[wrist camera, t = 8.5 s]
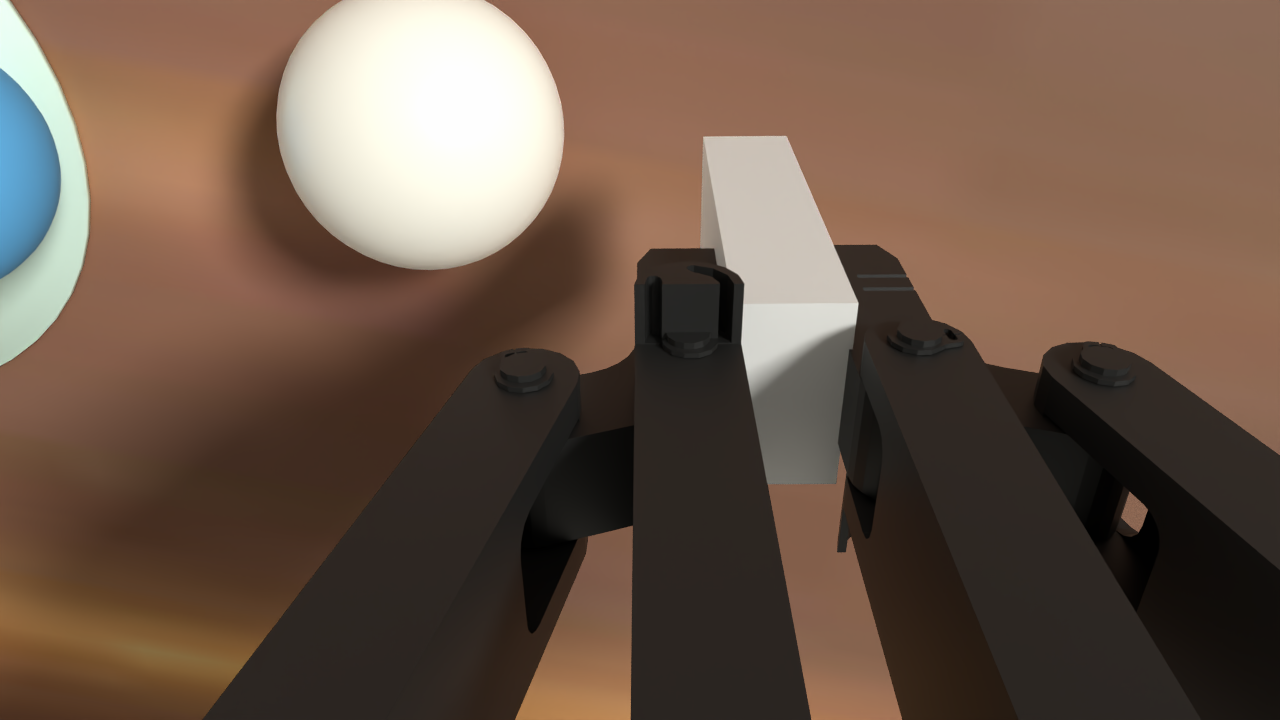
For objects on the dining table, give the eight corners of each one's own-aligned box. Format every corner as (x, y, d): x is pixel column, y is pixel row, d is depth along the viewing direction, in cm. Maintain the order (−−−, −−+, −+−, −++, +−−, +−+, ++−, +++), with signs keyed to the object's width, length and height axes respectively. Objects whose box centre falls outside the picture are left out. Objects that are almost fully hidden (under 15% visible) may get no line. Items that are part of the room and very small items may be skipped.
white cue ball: (355, -74, 14) (363, -89, 19) (203, 227, 16) (245, 143, 20) (645, 115, 17) (587, 59, 21) (489, 360, 18) (468, 257, 23)
